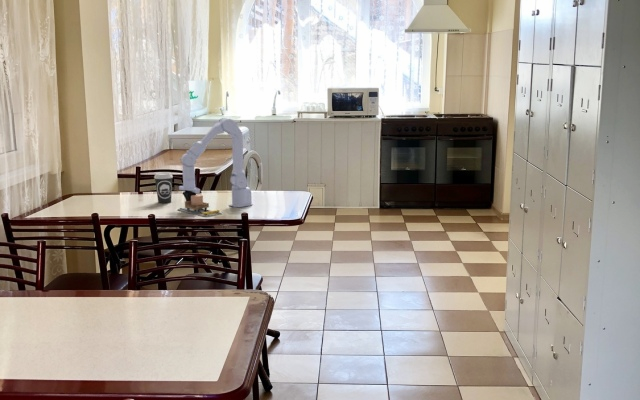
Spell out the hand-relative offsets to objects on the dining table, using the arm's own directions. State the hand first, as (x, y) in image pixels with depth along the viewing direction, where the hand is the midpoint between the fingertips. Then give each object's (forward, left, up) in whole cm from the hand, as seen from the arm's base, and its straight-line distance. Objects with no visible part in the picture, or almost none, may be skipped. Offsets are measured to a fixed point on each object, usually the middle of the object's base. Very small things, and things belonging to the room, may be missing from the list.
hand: (190, 206), depth 330 cm
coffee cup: (-3, -27, -2) cm, 27 cm away
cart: (0, +5, -2) cm, 6 cm away
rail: (0, +7, -2) cm, 8 cm away
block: (0, +6, +1) cm, 6 cm away
